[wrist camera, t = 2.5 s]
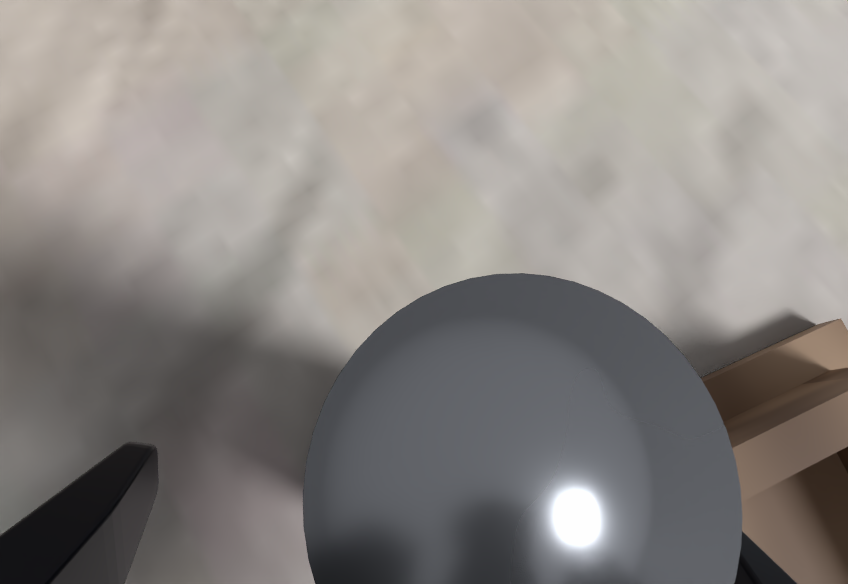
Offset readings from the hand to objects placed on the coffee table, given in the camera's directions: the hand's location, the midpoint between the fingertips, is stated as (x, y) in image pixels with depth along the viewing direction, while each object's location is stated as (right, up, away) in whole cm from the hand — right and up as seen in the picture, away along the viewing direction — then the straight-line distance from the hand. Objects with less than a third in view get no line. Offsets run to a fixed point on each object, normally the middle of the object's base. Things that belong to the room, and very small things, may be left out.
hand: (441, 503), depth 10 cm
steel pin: (-1, -2, +8) cm, 8 cm away
